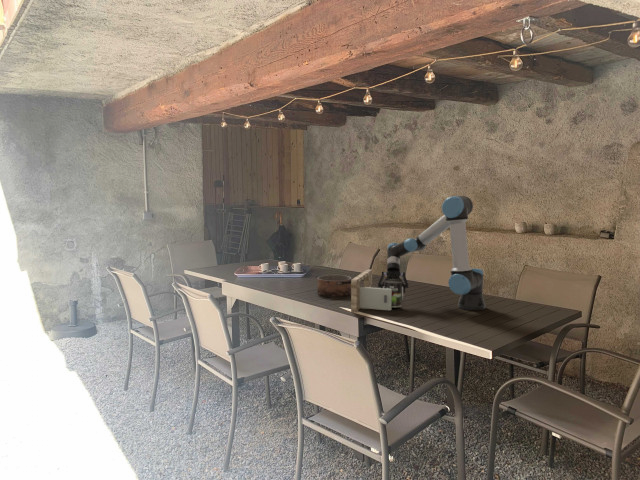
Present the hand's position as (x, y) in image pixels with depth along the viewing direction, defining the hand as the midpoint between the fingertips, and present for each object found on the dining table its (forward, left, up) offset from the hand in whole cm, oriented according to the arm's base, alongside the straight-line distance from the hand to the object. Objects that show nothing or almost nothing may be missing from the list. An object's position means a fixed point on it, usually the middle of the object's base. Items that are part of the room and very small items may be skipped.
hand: (392, 297), depth 263 cm
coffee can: (-3, -1, -6) cm, 6 cm away
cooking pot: (-29, -44, -7) cm, 54 cm away
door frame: (-5, -20, -7) cm, 21 cm away
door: (+5, -10, -6) cm, 13 cm away
